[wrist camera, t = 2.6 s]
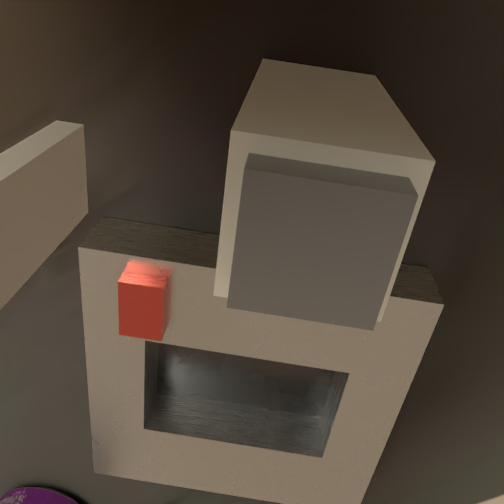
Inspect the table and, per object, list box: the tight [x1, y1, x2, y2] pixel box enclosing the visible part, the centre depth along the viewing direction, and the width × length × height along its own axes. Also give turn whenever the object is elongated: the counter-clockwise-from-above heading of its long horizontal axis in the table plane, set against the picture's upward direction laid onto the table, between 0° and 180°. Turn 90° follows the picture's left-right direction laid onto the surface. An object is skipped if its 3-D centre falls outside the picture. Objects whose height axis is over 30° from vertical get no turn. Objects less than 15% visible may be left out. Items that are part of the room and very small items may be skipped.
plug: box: [213, 58, 436, 331], centre depth 15 cm, size 4×4×11 cm
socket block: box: [78, 217, 444, 504], centre depth 26 cm, size 16×16×4 cm
